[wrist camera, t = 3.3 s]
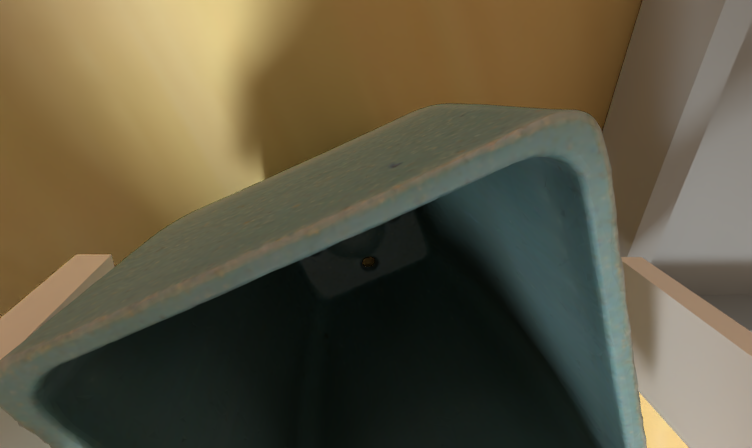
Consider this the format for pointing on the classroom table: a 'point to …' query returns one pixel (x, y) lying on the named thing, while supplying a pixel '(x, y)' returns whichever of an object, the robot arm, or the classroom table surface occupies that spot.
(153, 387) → the flower pot
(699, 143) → the slate tray
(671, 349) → the robot arm
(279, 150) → the classroom table surface
